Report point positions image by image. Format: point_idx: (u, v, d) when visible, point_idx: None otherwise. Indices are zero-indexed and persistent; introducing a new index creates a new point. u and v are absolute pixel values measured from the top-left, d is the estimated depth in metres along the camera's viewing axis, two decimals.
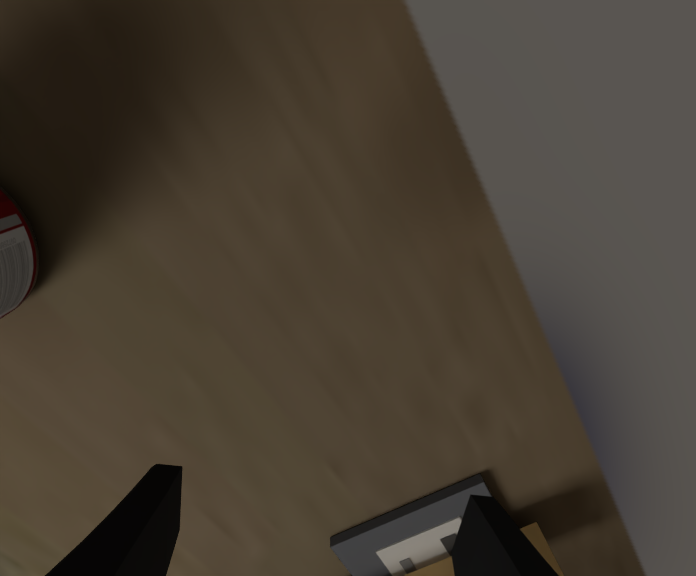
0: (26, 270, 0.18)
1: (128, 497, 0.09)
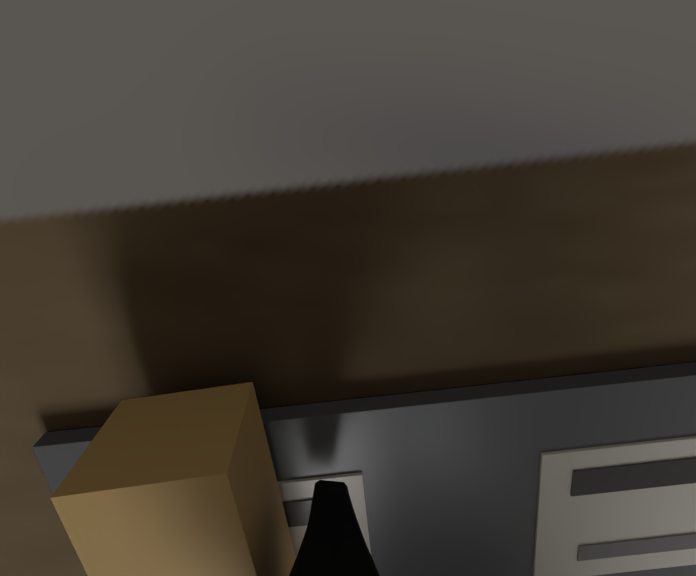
0: None
1: (316, 514, 0.10)
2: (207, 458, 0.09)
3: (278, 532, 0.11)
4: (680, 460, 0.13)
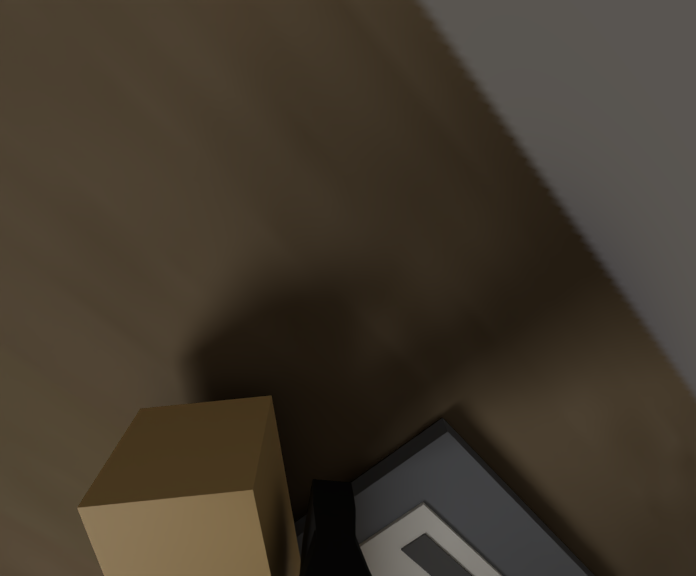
0: None
1: (324, 515, 0.10)
2: (231, 473, 0.09)
3: (289, 543, 0.12)
4: None
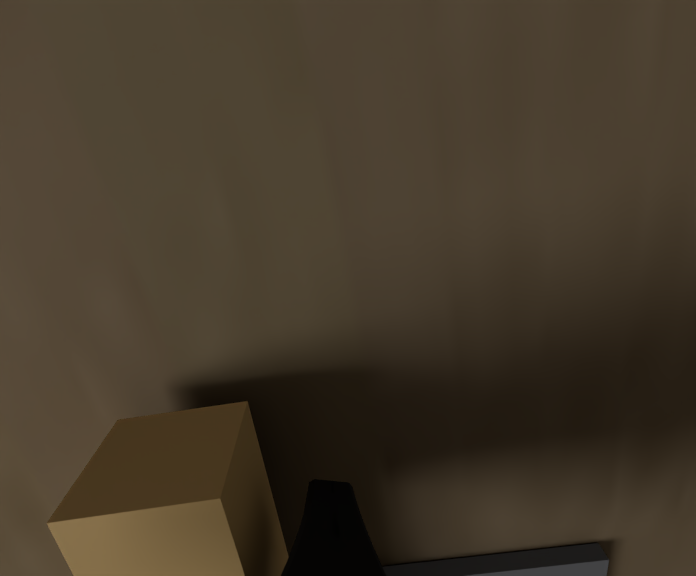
0: None
1: (309, 513, 0.10)
2: (201, 482, 0.09)
3: (274, 548, 0.12)
4: None
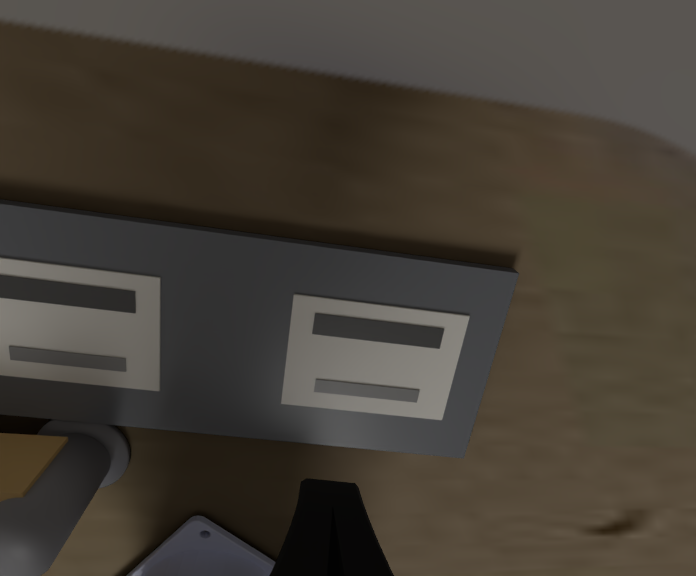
0: None
1: (300, 513, 0.10)
2: None
3: None
4: (391, 324, 0.18)
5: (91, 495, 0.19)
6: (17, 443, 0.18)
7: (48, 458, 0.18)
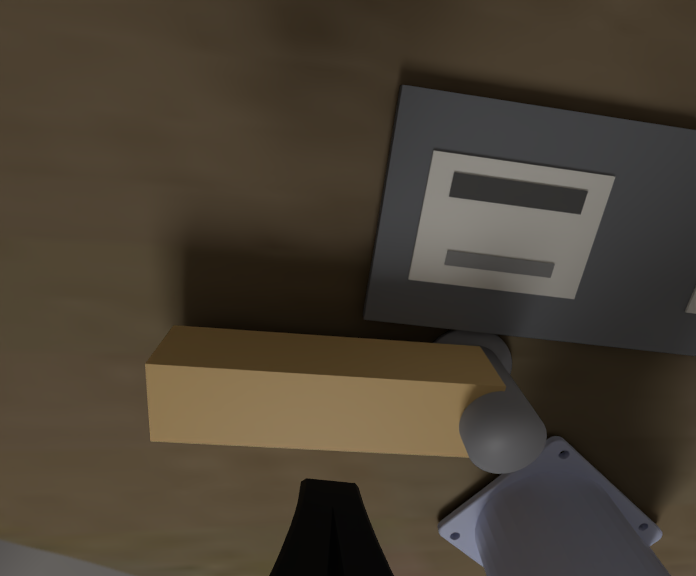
0: None
1: (300, 513, 0.10)
2: None
3: (267, 343, 0.17)
4: None
5: None
6: (444, 350, 0.18)
7: (487, 361, 0.18)
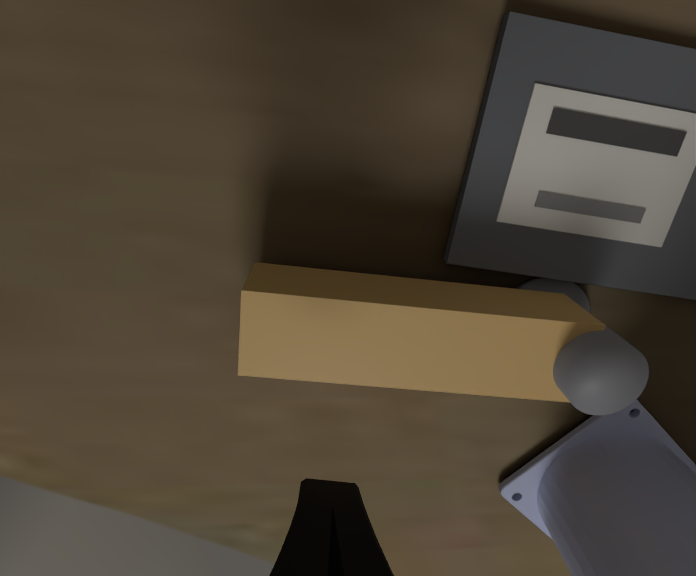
0: None
1: (300, 513, 0.10)
2: None
3: (354, 280, 0.17)
4: None
5: None
6: (530, 294, 0.18)
7: (577, 306, 0.17)
